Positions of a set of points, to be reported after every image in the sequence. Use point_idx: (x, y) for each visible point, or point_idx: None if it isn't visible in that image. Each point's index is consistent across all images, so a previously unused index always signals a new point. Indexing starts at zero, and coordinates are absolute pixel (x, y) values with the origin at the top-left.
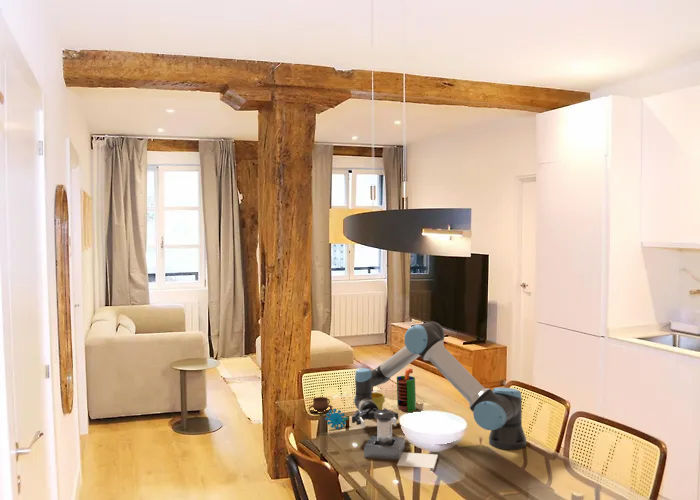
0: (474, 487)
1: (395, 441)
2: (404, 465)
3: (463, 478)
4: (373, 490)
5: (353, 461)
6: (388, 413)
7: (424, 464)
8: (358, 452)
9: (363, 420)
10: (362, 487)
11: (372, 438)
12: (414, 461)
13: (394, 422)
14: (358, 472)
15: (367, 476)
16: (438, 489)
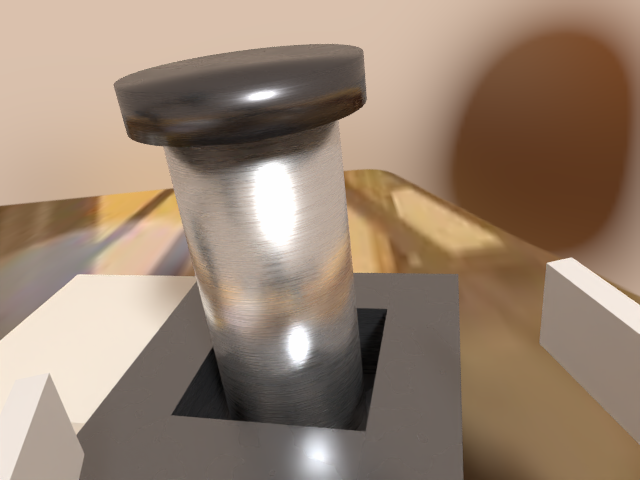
0: (22, 221)
1: (187, 375)
2: None
3: (6, 254)
4: (360, 179)
5: (524, 326)
6: (197, 65)
7: (100, 296)
8: (560, 469)
9: (584, 290)
10: (401, 184)
11: (425, 426)
12: (136, 317)
13: (68, 422)
14: (446, 244)
15: (396, 227)
16: (145, 203)
